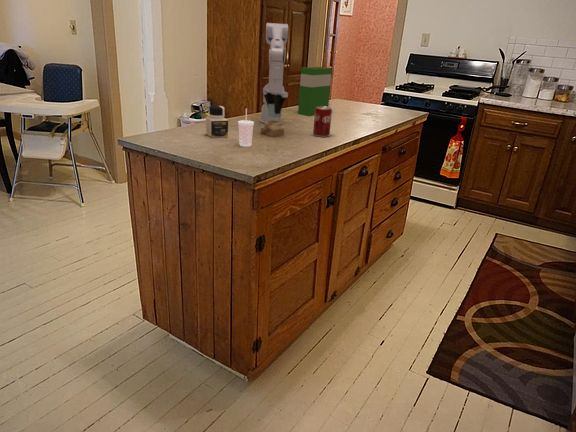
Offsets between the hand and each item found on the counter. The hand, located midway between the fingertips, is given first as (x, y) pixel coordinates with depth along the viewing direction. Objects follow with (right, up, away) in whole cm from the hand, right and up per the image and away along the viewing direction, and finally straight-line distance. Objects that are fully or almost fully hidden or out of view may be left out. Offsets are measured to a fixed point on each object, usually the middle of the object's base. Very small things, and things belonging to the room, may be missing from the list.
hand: (274, 112), depth 185 cm
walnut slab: (-1, -9, +4) cm, 10 cm away
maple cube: (-1, -6, +3) cm, 7 cm away
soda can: (+20, -8, +8) cm, 24 cm away
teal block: (0, -1, +1) cm, 2 cm away
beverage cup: (-11, -16, -16) cm, 25 cm away
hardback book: (+20, +13, +57) cm, 62 cm away
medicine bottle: (-24, -11, -4) cm, 26 cm away
